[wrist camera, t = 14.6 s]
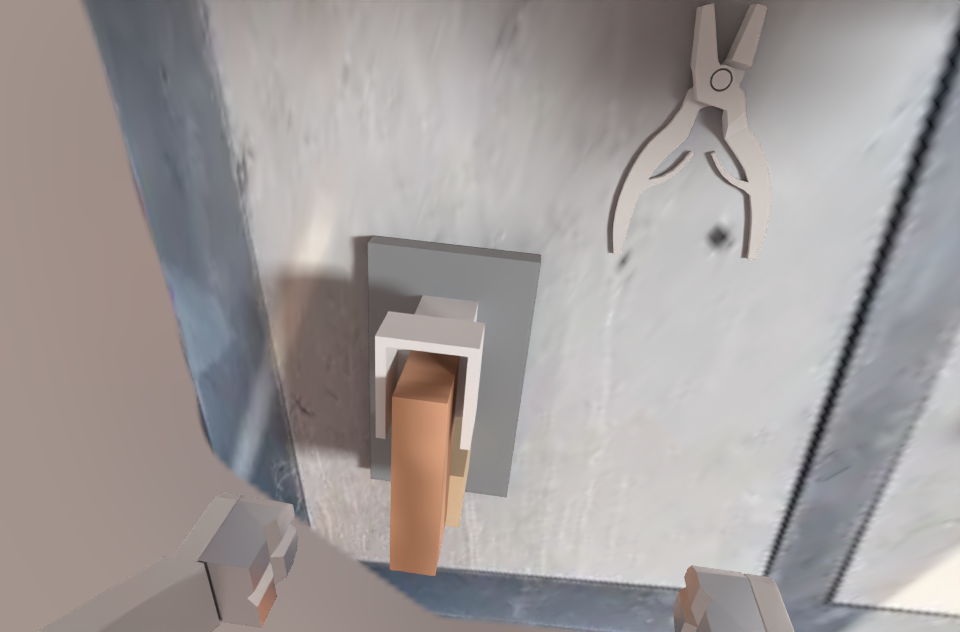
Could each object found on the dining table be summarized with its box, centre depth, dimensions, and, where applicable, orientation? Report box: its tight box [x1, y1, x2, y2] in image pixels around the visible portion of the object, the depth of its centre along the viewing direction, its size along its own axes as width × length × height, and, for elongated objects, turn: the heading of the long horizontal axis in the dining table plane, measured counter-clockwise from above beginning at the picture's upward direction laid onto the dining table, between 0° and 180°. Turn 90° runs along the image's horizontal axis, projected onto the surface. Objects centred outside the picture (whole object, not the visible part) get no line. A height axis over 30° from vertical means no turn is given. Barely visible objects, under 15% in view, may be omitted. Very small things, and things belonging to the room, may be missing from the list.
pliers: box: [613, 3, 771, 260], centre depth 34 cm, size 10×2×15 cm
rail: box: [390, 350, 460, 576], centre depth 35 cm, size 3×14×5 cm, turn 175°
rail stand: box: [368, 236, 541, 527], centre depth 39 cm, size 12×22×11 cm, turn 175°
